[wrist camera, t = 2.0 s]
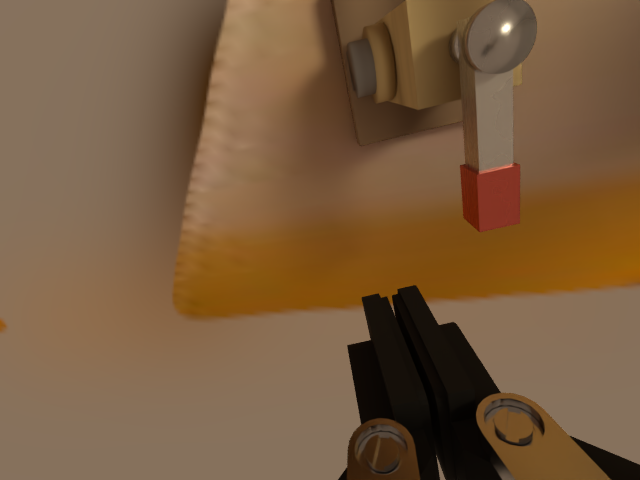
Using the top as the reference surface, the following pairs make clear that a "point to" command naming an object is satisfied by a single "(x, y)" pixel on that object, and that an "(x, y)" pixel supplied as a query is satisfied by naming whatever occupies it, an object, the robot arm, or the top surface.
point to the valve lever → (491, 108)
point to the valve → (402, 64)
